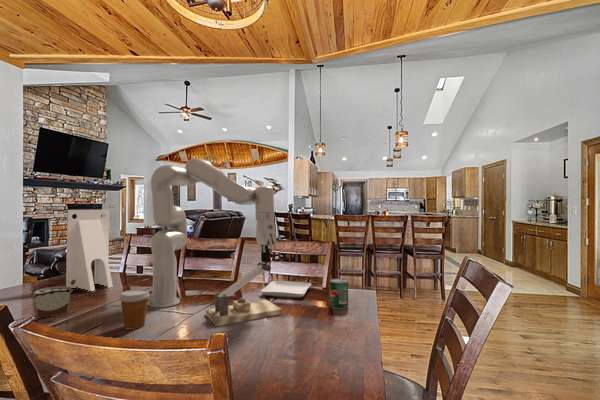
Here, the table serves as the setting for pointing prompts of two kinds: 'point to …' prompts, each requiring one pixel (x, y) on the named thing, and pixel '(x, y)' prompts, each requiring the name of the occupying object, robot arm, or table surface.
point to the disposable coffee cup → (134, 307)
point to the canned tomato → (339, 293)
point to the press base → (244, 316)
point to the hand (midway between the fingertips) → (265, 261)
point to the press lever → (246, 279)
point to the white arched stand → (88, 249)
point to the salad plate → (286, 289)
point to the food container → (52, 300)
